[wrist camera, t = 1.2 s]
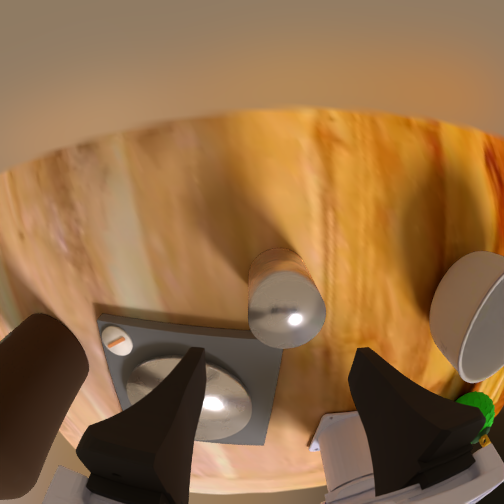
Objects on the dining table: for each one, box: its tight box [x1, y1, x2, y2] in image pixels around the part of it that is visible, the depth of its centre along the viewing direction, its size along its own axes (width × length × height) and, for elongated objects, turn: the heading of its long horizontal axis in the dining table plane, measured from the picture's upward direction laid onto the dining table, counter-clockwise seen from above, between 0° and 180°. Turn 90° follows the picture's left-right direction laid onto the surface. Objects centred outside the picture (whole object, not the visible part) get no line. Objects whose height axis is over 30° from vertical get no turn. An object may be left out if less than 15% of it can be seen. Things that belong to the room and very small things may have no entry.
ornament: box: [455, 391, 495, 448], centre depth 23 cm, size 8×8×10 cm
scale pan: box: [127, 355, 252, 440], centre depth 23 cm, size 12×12×1 cm
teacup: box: [430, 251, 504, 383], centre depth 18 cm, size 14×11×8 cm
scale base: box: [97, 314, 283, 445], centre depth 24 cm, size 16×16×2 cm
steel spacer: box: [248, 248, 326, 349], centre depth 18 cm, size 4×4×6 cm
